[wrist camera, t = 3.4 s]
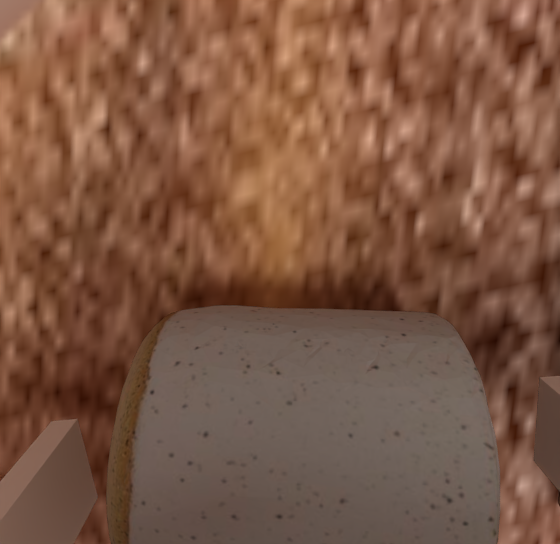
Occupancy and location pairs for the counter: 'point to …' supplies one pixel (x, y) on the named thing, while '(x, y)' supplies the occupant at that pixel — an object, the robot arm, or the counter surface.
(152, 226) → the counter surface
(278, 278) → the counter surface
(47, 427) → the robot arm
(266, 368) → the ceramic mug
